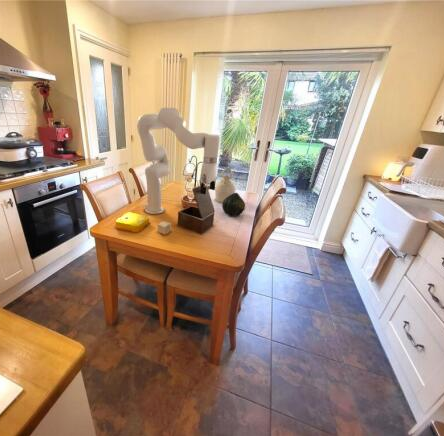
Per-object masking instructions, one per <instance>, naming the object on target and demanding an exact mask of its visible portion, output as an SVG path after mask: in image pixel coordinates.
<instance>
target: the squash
mask: <svg viewBox="0 0 444 436" xmlns="http://www.w3.org/2000/svg"><path fill="white" fill-rule="evenodd" d="M221 207H222V211H223V212H224V213H225V214H228V215H231V216H232V217H236V216H240V215H242V214H243V213H244V211H245V209H246V203H245V200H244V199H243V198H242V196H241V195H240V194H239V193H238V192H235V193H233V194H231V195H229V196H228V197H226V198H225V199H224V201H223V203H222V204H221Z"/></svg>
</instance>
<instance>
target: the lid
mask: <svg viewBox="0 0 444 436" xmlns="http://www.w3.org/2000/svg"><path fill="white" fill-rule="evenodd" d="M200 188H201V186H200V185H197V186H196V187H193V188H192V189H191V190H192V194H193V196H194V200H195V203H196V207H198V209H199V213H200V216H201V219H204V218H205V217H207V216H209V215H210V214H212V213H214V214H215V212H216V211H215V207H214V204H213V200H212V197H211V194H210V190H211V189H210V185H208V184H207V185H206V194H201V193H200Z"/></svg>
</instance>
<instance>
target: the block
mask: <svg viewBox="0 0 444 436" xmlns="http://www.w3.org/2000/svg"><path fill="white" fill-rule="evenodd" d="M170 232H171V223H169V222H167V221H161V222H159V223H157V233H158V234H162V235H165V236H166V235H167V234H169V233H170Z"/></svg>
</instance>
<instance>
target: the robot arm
mask: <svg viewBox="0 0 444 436" xmlns="http://www.w3.org/2000/svg"><path fill="white" fill-rule="evenodd" d="M186 125H187V122H186V120H185V119H184V118H183V117H181V112H180V111H179V109H177V108H176V107H161V108H160V109H158V110H157V113H145V114H142V115H141V116H139V118H138V119H137V123H136V129H137V132H138V133H137V134H138V136H139V138H140V142H141V148H142V152H143V153H142V154H143V157H144V159H145V161H146V162H149V163H151V164H148V165H147V166H146V167H145V169H144V175H145V180H146V200H147V201H146V202H142V207H143V208H144V211H145V213H146V214H150V215H160V214H162V213H164V211H165V208H164V207H163V206H162V205H163V204H162V203H163V202H162V201H163V199H162V195H163V193H162V191H163V187H162V183H161V180H160V179H162V178H164V177H167V176H168V175H169V174H170V171H171V166H170V161H169V156H168V155H169V154H168V151H167V149H166V147H165V146H164V145H162V144H157V143H156V138H155V135H154V134H153V132H152V131H153V130H154V131H155V130H164V129H166V128H167V129H168V130H170V131H171V132H173V134H174V135H175V137H176V139H177V140H178V142H179V143H180V144H182V145H183V146H185V147H186V148H187V149H190V150H197V149H203V160H202V165H201V169H200V174H199V175H200V176H199V179H198V181H199V186H201V188H200V193H201V194H206V185H207V186H208V183H209V186H210V189H209V190H211V191H215V186H216V184H217V180H218V163H219V154H220V146H221V145H220V144H221V136H220V135H218V134H209V133H206V132H195V133H193V132H192V131H190V130H188V129H187V128H186ZM152 162H155V163H152Z"/></svg>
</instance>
